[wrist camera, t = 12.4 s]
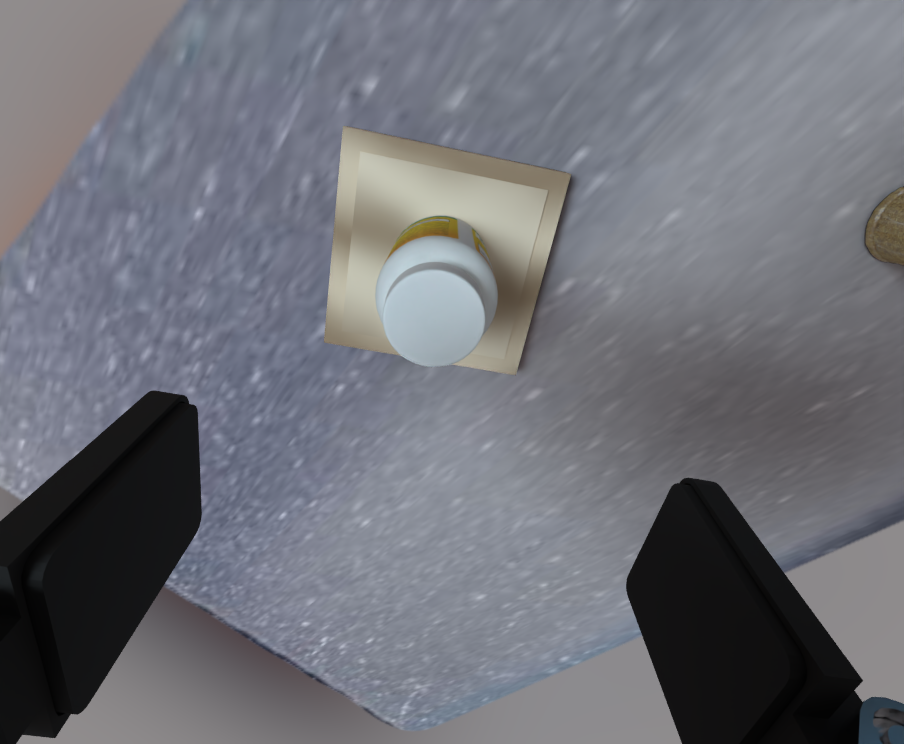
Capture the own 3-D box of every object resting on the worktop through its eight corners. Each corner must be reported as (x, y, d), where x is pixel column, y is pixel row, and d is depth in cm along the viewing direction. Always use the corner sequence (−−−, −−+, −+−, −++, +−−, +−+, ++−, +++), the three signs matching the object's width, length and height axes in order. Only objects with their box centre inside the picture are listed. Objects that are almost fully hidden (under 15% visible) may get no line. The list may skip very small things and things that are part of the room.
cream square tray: (348, 126, 27) (342, 126, 25) (565, 171, 28) (571, 174, 26) (329, 333, 32) (323, 343, 30) (513, 365, 33) (516, 376, 31)
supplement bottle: (506, 246, 28) (533, 298, 19) (456, 325, 30) (459, 405, 21) (420, 192, 27) (407, 223, 18) (374, 279, 29) (341, 344, 20)
